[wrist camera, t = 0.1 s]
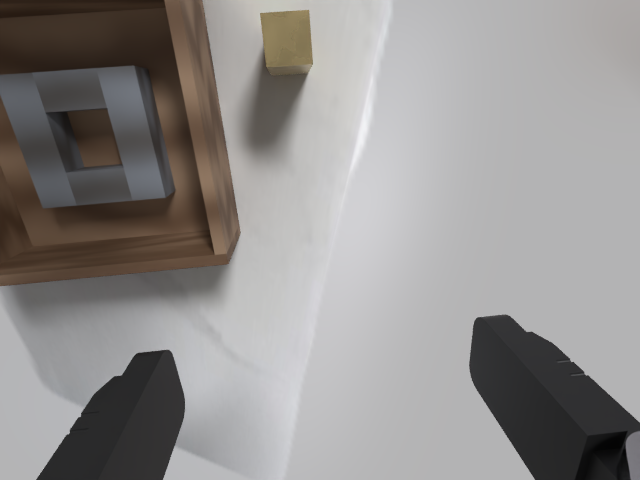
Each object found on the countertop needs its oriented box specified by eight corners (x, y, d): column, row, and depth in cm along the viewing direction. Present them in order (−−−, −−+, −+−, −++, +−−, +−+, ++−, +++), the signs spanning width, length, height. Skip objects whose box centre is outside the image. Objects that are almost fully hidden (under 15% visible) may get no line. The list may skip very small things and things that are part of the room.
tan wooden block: (267, 34, 32) (260, 13, 24) (304, 32, 32) (308, 10, 24) (272, 75, 33) (266, 67, 25) (308, 73, 33) (312, 64, 26)
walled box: (-65, 11, 29) (-187, -21, 22) (201, -6, 30) (171, -41, 23) (33, 252, 37) (-32, 289, 30) (240, 233, 38) (228, 264, 31)
